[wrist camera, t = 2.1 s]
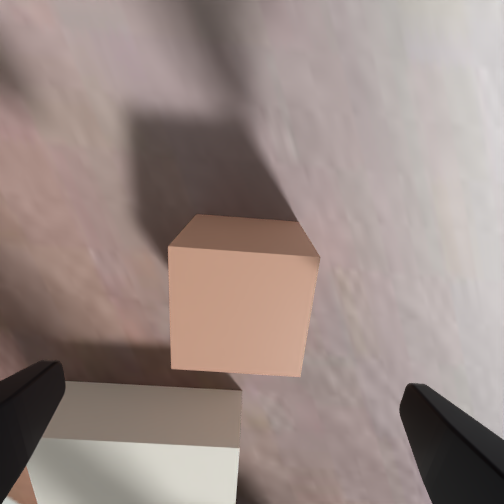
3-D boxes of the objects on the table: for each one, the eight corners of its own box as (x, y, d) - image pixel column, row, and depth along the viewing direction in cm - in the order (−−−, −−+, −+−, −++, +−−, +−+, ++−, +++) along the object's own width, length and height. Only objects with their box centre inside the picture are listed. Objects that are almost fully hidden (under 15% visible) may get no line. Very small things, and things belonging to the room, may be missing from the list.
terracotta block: (286, 308, 16) (300, 376, 11) (195, 303, 16) (170, 369, 11) (297, 221, 14) (320, 257, 9) (196, 213, 14) (168, 246, 9)
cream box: (234, 497, 22) (230, 570, 18) (89, 490, 22) (55, 562, 18) (242, 385, 18) (239, 448, 14) (67, 375, 18) (17, 436, 14)
